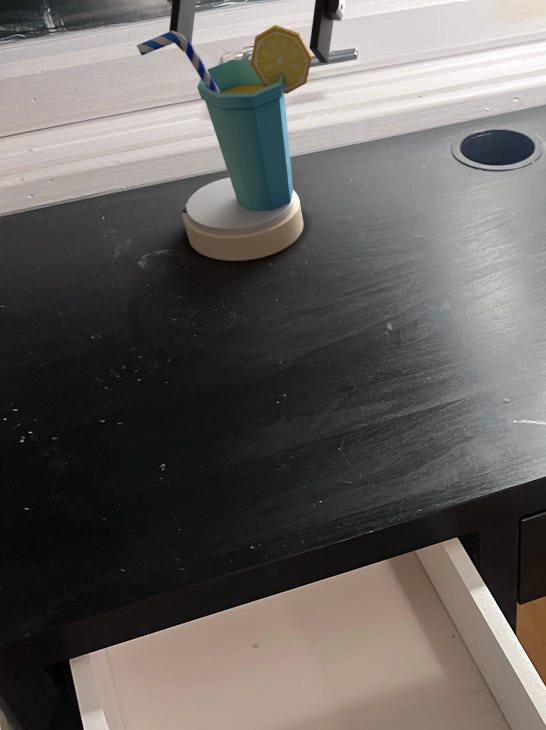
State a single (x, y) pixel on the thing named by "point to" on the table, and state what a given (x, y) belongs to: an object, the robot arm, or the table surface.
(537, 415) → the table surface
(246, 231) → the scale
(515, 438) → the table surface
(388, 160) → the table surface
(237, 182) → the cup
